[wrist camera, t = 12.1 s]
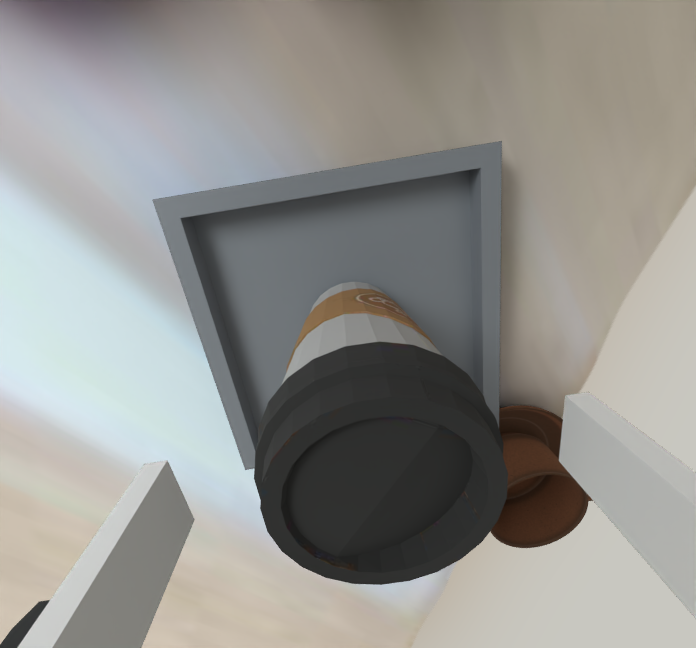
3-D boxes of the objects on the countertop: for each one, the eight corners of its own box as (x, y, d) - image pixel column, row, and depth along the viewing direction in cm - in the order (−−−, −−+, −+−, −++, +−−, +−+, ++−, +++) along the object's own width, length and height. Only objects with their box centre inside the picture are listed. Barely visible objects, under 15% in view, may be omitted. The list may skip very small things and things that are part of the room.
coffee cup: (433, 301, 23) (587, 454, 9) (372, 391, 26) (421, 620, 12) (330, 241, 22) (329, 321, 8) (274, 344, 24) (195, 549, 10)
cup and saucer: (555, 375, 27) (615, 423, 21) (571, 479, 31) (625, 542, 26) (415, 421, 28) (437, 479, 22) (449, 516, 32) (475, 585, 27)
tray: (171, 199, 21) (152, 199, 19) (483, 147, 21) (501, 141, 19) (252, 448, 28) (245, 469, 26) (485, 411, 28) (499, 429, 26)
